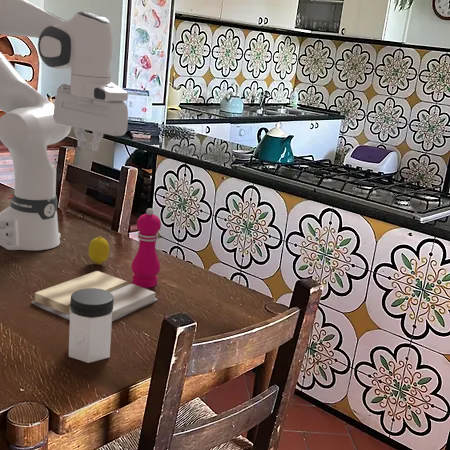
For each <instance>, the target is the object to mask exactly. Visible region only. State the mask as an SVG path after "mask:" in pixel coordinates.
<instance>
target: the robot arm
mask: <svg viewBox="0 0 450 450" xmlns="http://www.w3.org/2000/svg"><path fill="white" fill-rule="evenodd" d="M1 35H4V36H14V37H28V38H35V39H36V38H37V39H38V42H37V49H38V50H37V51H38V54H39V57H40V59H41V61H42V62H43V63H44V65H46V66H47V67H49V68H52V69H55V70H71V71H70V84H66V83H62V84H61V85H60V86H58V87H57V89H56V96H55V97H54V98H55V99H54V103H53V102H51V101H50V100H49V99H48V98H47V97H45V96H44V95H43V94H41V93H40V92H39V91H38V90H37V89H35V88H34V87H33V86H31V84H29V83H28V82H27V81H26V80H25V79H24V77H22V76H21V74H20V73H19V72H18V70H16V68H15V67H14V65H12V63H11V62H10V61H9V60H8V58H6V57H5V55H4V54H3V52H1V51H0V111H1V112H4V113H5V114H3V115H1V117H0V142H1V143H2V144H3V145H4V146H5V147H6V148H7V149H8V151H9V154H10V157H11V160H12V165H13V170H14V173H13V174H14V193H12V194H8V195H7V197H8V198H7V199H8V200H10V204H9V205H8V207H6V208H5V209H3V210H2V211H0V246H1V247H3V248H4V249H6V250H8V251H17V250H18V251H20V250H21V251H43V250H45V251H46V250H50V249H53V248H56V247H58V246H59V245H60V244H61V240H60V239H61V233H60V231H59V221H58V212H57V209H58V196H57V194H56V192H57V191H56V190H57V189H56V188H57V169H56V167H55V166H54V165H53V164H52V163H51V160H50V157H49V155H48V146H49V145H55V144H58V143H59V142H61V141H62V140H64V139H65V138H66V137H68V136H69V134H70V133H71V130H72V128H73V133H74V135H75V137H76V139H77V147H78V148H80V149H87V148H88V150H90V151H92V152H97V151H99V149H100V147H99V146H100V143H101V141H102V139H103V137H104V135H109V136H113V137H120V136H121V137H122V136H124V135H126V134H127V133H126V132H127V131H128V125H129V124H128V123H129V111H128V110H129V109H128V106H127V104H126V103H125V102H127V101H128V98H129V94H128V92H127V91H126V90H124V89H123V88H121V87H120V86H118V85H116V84H115V83H114V82H112V73H111V68H110V67H111V61H112V59H113V29H112V25H111V22H110V20H109V19H108V18H107V17H105V16H103V15H101V14H97V13H92V12H88V11H79V12H75V14H74V15H73V17H71V18H70V19H69V20H68V19H66V20H65V19H63V18H61V17H59V16H57V15H55V14H53V13H51V12H48V11H46V10H45V9H43V8H41V7H40V6H38V5H36V4H35V3H32V2H31V1H29V0H0V36H1ZM86 130H87V131H89V132H90V131H91V132H92V137H93V139H92V141H91V142H88V140H87V139H86V137H85V134H84V133H85V132H86Z"/></svg>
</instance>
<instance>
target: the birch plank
mask: <svg viewBox="0 0 450 450" xmlns="http://www.w3.org/2000/svg"><path fill="white" fill-rule="evenodd" d="M126 284H128V281H127V280H123V279H122V278H119V277H116V276H114V275H113V276H112V275H110V274H107V273H105V272H101V271H99V270H95V271H92V272H90V273H89V272H88V273H87V274H83V275H82V276H78V277H76V278H72V279H69V280H67V281H64V282H61V283H58V284H56V285H53V286H49V287H47V288H44V289H41V290H38V291H36V292H34V301H37V302H39V303H41V304H44V305H46V306H48V307H51V308H53V309H56V310H58V311H60V312H63V313H65V314H67V313H69V309H70V301H71V295H72V294H73V293H74V292H75V291H78V290H81V289H87V288H97V289H103V290H106V291H108V292H109V291H111V290H114V289H116V288H119V287H121V286H124V285H126Z"/></svg>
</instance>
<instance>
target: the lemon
mask: <svg viewBox="0 0 450 450" xmlns="http://www.w3.org/2000/svg"><path fill="white" fill-rule="evenodd" d="M88 245H89V246H88V256H89V259H90V260H91V261H92V262H93V263H95V264H96V265H101V264H102V263H104V262H106V261H107V259H109V256H110V245H109V242H108V240H106V238H104V237H102V236H99V235H98V236H97V237H95V238H93V239H92V240H91V241H90V243H89V244H88Z"/></svg>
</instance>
